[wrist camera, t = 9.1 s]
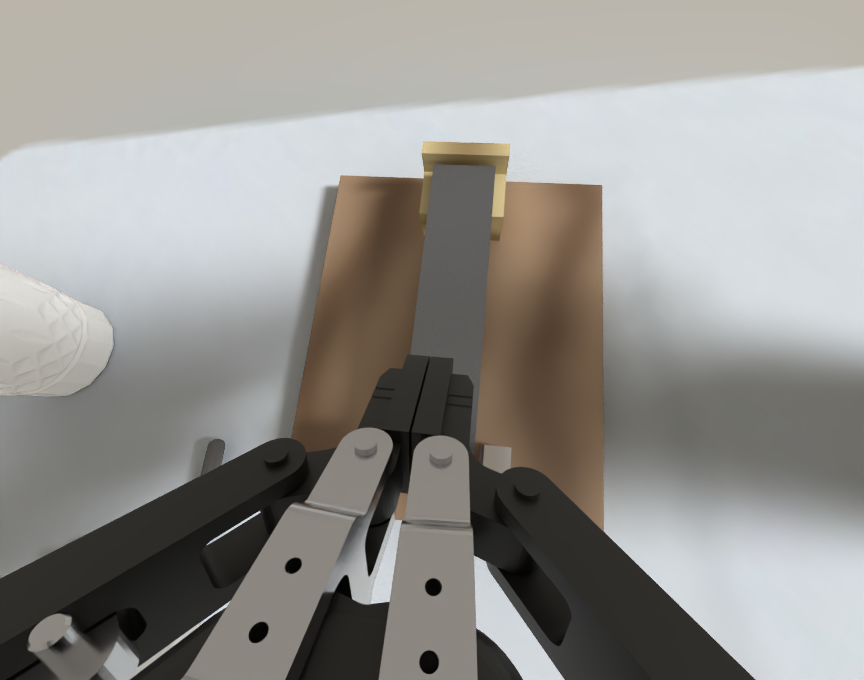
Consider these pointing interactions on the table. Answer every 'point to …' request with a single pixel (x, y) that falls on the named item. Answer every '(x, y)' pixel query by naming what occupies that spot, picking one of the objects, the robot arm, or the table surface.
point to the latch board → (503, 324)
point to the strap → (456, 271)
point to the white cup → (48, 339)
